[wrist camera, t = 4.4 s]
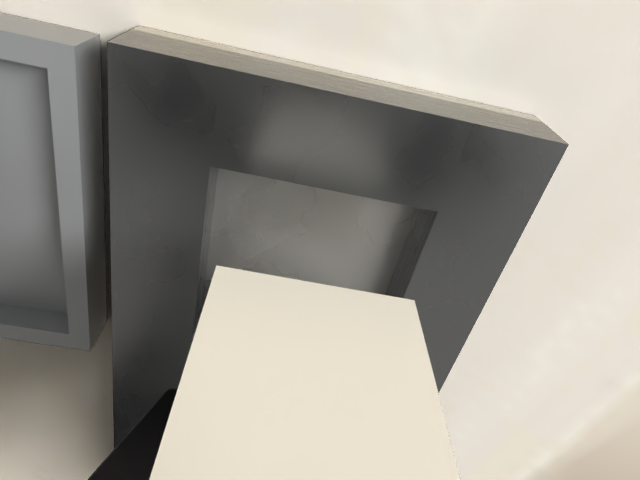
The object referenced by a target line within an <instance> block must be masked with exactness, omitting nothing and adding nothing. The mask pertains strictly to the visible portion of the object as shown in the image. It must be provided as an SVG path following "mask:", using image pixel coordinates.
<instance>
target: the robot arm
mask: <svg viewBox="0 0 640 480" xmlns="http://www.w3.org/2000/svg"><path fill="white" fill-rule="evenodd" d="M176 393H177V389H176V388H170V389H168V390H167V391H166V392H165V393H164V394H163V395H162V396H161V397H160V398H159V399H158V401H157V402H156V403H155V404H154V405H153V406H152V407H151V409H150V410H149V411H148V412H147V413H146V414H145V415H144V416H143V418H142V419H141V420H140V421H139V422H138V423H137V424H136V425H135V427H134V428H133V429H132V430H131V431H130V432H129V433H128V435H127V436H126V437H125V438H124V439H123V440H122V441H121V442H120V444H119V445H118V446H117V447H116V448H115V449H114V450H113V451H112V453H111V454H110V455H109V456H108V457H107V458H106V459H105V460H104V462H103V463H102V464H101V465H100V466H99V467H98V468H97V470H96V471H95V472H94V473H93V474H92V475H91V476H90V477H89V479H88V480H149V479H150V476H151V472H152V469H153V466H154V463H155V460H156V456H157V453H158V450H159V447H160V444H161V441H162V437H163V434H164V431H165V428H166V425H167V421H168V418H169V415H170V412H171V409H172V405H173V402H174V399H175V396H176Z"/></svg>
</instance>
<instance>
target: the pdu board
mask: <svg viewBox="0 0 640 480" xmlns="http://www.w3.org/2000/svg"><path fill="white" fill-rule="evenodd" d="M107 66H108V124H109V182H110V241H111V299H112V357H113V416H114V449H115V448H116V447H117V446H118V445H119V444H120V442H121V441H122V440H123V439H124V438H125V437H126V436H127V435H128V433H129V432H130V431H131V430H132V429H133V428H134V427H135V425H136V424H137V423H138V422H139V421H140V420H141V419H142V418H143V416H144V415H145V414H146V413H147V412H148V411H149V410H150V409H151V407H152V406H153V405H154V404H155V403H156V402H157V401H158V399H159V398H160V397H161V396H162V395H163V394H164V393H165V392H166V391H167V390H168V389H170V388H176V389H178V386H179V383H180V380H181V377H182V373H183V370H184V367H185V364H186V361H187V358H188V354H189V351H190V348H191V345H192V342H193V338H194V335H195V332H196V329H197V326H198V322H199V319H200V316H201V313H202V310H203V306H204V303H205V300H206V297H207V294H208V291H209V287H210V284H211V281H212V278H213V275H214V271H215V268H216V265H217V266H223V267H228V268H234V269H240V270H245V271H251V272H257V273H262V274H268V275H274V276H279V277H285V278H291V279H296V280H302V281H308V282H314V283H319V284H325V285H331V286H336V287H342V288H348V289H353V290H359V291H365V292H370V293H376V294H382V295H387V296H393V297H399V298H405V299H410V300H415V304H416V308H417V312H418V316H419V320H420V324H421V327H422V331H423V335H424V339H425V343H426V347H427V351H428V355H429V358H430V362H431V366H432V370H433V374H434V378H435V382H436V386H437V389H438V393H439V391H440V389H441V387H442V385H443V384H444V382H445V380H446V378H447V376H448V374H449V372H450V370H451V368H452V366H453V364H454V363H455V361H456V359H457V357H458V355H459V353H460V351H461V349H462V347H463V345H464V343H465V342H466V340H467V338H468V336H469V334H470V332H471V330H472V328H473V326H474V324H475V322H476V321H477V319H478V317H479V315H480V313H481V311H482V309H483V307H484V305H485V303H486V301H487V299H488V298H489V296H490V294H491V292H492V290H493V288H494V286H495V284H496V282H497V280H498V278H499V277H500V275H501V273H502V271H503V269H504V267H505V265H506V263H507V261H508V259H509V257H510V256H511V254H512V252H513V250H514V248H515V246H516V244H517V242H518V240H519V238H520V236H521V235H522V233H523V231H524V229H525V227H526V225H527V223H528V221H529V219H530V217H531V215H532V214H533V212H534V210H535V208H536V206H537V204H538V202H539V200H540V198H541V196H542V194H543V193H544V191H545V189H546V187H547V185H548V183H549V181H550V179H551V177H552V175H553V173H554V171H555V170H556V168H557V166H558V164H559V162H560V160H561V158H562V156H563V154H564V152H565V150H566V149H567V147H568V145H569V144H568V143H566V142H565V141H564V140H563V139H562V138H561V137H559V136H558V135H557V134H556V133H555V132H554V131H552V130H551V129H550V128H549V127H548V126H547V125H545V124H544V123H543V122H542V121H541V120H540V119H538V118H537V117H536V116H534V115H530V114H526V113H521V112H517V111H512V110H508V109H504V108H499V107H495V106H491V105H486V104H482V103H477V102H473V101H469V100H464V99H460V98H455V97H451V96H447V95H442V94H438V93H433V92H429V91H425V90H420V89H416V88H412V87H407V86H403V85H398V84H394V83H390V82H385V81H381V80H376V79H372V78H368V77H363V76H359V75H354V74H350V73H346V72H341V71H337V70H333V69H328V68H324V67H319V66H315V65H311V64H306V63H302V62H297V61H293V60H289V59H284V58H280V57H276V56H271V55H267V54H262V53H258V52H254V51H249V50H245V49H240V48H236V47H232V46H227V45H223V44H218V43H214V42H210V41H205V40H201V39H197V38H192V37H188V36H183V35H179V34H175V33H170V32H166V31H161V30H157V29H153V28H148V27H144V26H137V27H135V28H133V29H131V30H129V31H127V32H125V33H123V34H121V35H119V36H117V37H115V38H113V39H112V40H110V41H108V42H107Z"/></svg>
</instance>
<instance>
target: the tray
mask: <svg viewBox="0 0 640 480" xmlns="http://www.w3.org/2000/svg"><path fill="white" fill-rule="evenodd" d="M106 322H107V303H106V262H105V221H104V180H103V139H102V98H101V57H100V34H96V33H91V32H87V31H82V30H78V29H73V28H69V27H64V26H60V25H55V24H51V23H46V22H42V21H38V20H33V19H29V18H24V17H20V16H15V15H11V14H6V13H2V12H0V338H5V339H12V340H18V341H25V342H31V343H38V344H45V345H51V346H58V347H65V348H71V349H78V350H84V351H91V349H92V347H93V345H94V343H95V342H96V340H97V338H98V336H99V334H100V333H101V331H102V329H103V327H104V325H105V323H106Z"/></svg>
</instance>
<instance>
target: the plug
mask: <svg viewBox="0 0 640 480" xmlns="http://www.w3.org/2000/svg"><path fill="white" fill-rule="evenodd" d="M149 480H461V479H460V475H459V471H458V467H457V463H456V459H455V455H454V451H453V448H452V444H451V440H450V436H449V432H448V428H447V424H446V420H445V417H444V413H443V409H442V405H441V401H440V397H439V393H438V389H437V386H436V382H435V378H434V374H433V370H432V366H431V362H430V358H429V355H428V351H427V347H426V343H425V339H424V335H423V331H422V327H421V324H420V320H419V316H418V312H417V308H416V304H415V300H410V299H405V298H399V297H393V296H387V295H382V294H376V293H370V292H365V291H359V290H353V289H348V288H342V287H336V286H331V285H325V284H319V283H314V282H308V281H302V280H296V279H291V278H285V277H279V276H274V275H268V274H262V273H257V272H251V271H245V270H240V269H234V268H228V267H223V266H217V265H216V268H215V271H214V275H213V278H212V281H211V284H210V287H209V291H208V294H207V297H206V300H205V303H204V306H203V310H202V313H201V316H200V319H199V322H198V326H197V329H196V332H195V335H194V338H193V342H192V345H191V348H190V351H189V354H188V358H187V361H186V364H185V367H184V370H183V373H182V377H181V380H180V383H179V386H178V389H177V393H176V396H175V399H174V402H173V405H172V409H171V412H170V415H169V418H168V421H167V425H166V428H165V431H164V434H163V437H162V441H161V444H160V447H159V450H158V453H157V456H156V460H155V463H154V466H153V469H152V472H151V476H150V479H149Z"/></svg>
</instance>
